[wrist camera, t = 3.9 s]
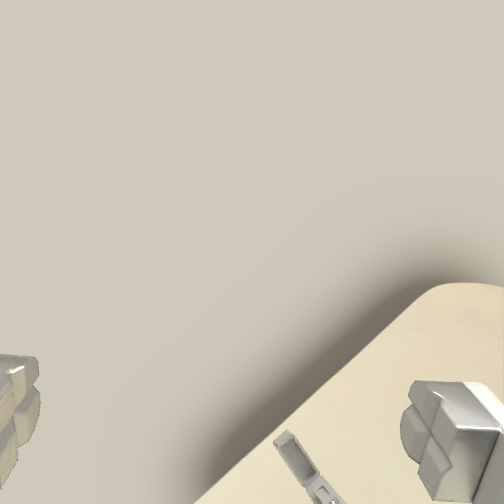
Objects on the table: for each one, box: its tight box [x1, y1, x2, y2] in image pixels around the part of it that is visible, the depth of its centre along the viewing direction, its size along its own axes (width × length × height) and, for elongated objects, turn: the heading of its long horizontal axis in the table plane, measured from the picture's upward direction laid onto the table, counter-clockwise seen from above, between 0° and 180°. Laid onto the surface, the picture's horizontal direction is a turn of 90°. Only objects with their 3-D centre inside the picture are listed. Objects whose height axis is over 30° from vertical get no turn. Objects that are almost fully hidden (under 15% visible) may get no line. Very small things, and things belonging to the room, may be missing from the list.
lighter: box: [273, 430, 346, 504], centre depth 34 cm, size 7×2×8 cm, turn 29°
